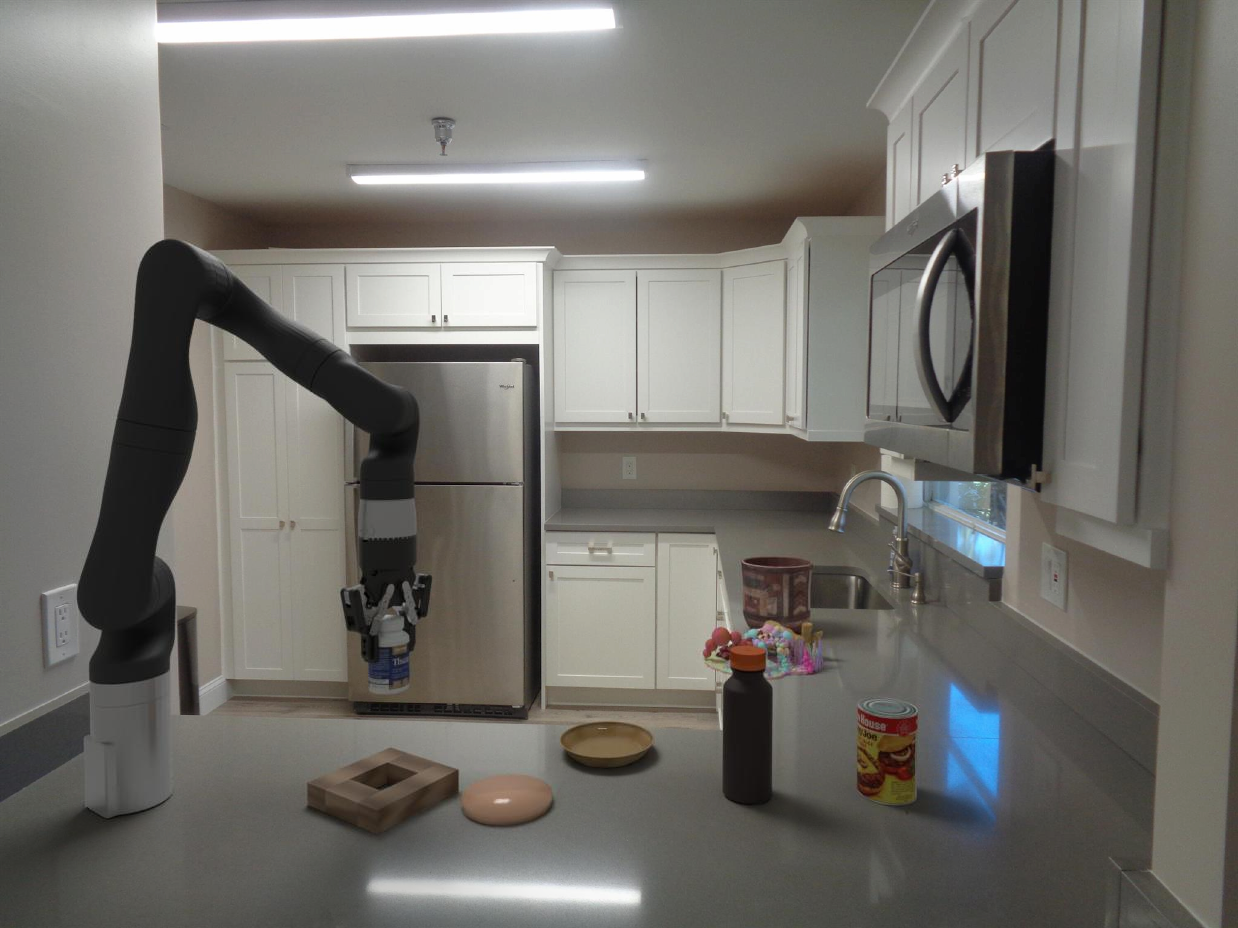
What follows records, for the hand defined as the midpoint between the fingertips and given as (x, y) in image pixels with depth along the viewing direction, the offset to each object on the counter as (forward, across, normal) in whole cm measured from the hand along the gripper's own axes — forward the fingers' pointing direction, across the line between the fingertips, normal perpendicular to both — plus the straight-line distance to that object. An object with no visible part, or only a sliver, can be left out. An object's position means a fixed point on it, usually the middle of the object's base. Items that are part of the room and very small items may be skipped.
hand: (389, 655), depth 104 cm
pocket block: (+19, 0, -1) cm, 19 cm away
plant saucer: (+20, -29, +16) cm, 38 cm away
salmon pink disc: (+19, -8, +14) cm, 25 cm away
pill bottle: (+5, 0, 0) cm, 5 cm away
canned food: (+20, -38, +56) cm, 71 cm away
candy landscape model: (+20, -87, +19) cm, 92 cm away
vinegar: (+20, -28, +40) cm, 53 cm away
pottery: (+20, -114, +11) cm, 116 cm away
